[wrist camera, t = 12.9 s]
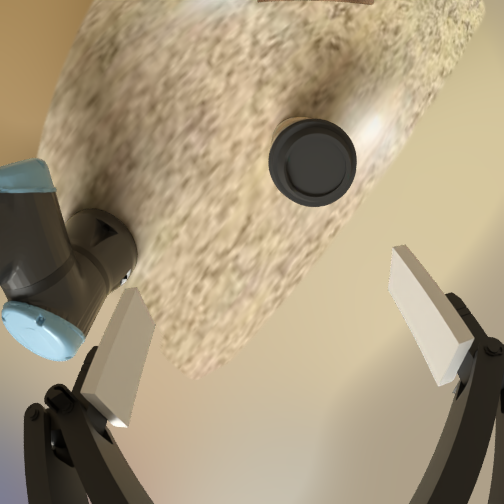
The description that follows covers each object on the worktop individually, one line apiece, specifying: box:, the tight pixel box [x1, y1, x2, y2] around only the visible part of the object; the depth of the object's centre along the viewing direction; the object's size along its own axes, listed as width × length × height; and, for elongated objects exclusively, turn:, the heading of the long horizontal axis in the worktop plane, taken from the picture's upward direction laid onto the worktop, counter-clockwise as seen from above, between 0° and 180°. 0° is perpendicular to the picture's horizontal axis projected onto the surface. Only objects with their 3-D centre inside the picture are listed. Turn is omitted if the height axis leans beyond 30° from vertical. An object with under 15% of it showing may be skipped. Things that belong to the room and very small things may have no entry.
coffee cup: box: [269, 117, 357, 207], centre depth 33 cm, size 9×9×15 cm
